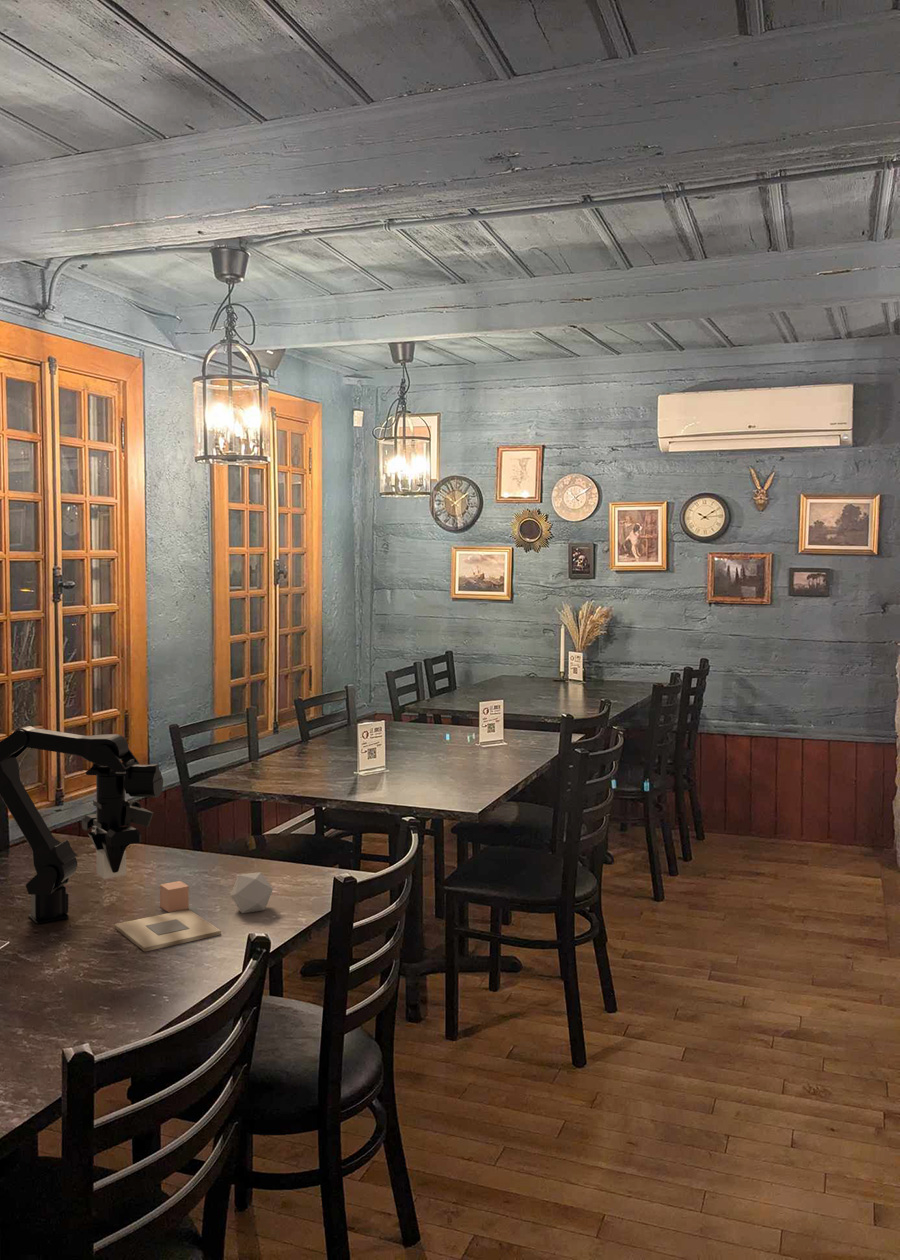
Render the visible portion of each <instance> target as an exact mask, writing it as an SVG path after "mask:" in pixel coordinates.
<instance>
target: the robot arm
mask: <svg viewBox="0 0 900 1260" xmlns="http://www.w3.org/2000/svg"><path fill="white" fill-rule="evenodd" d="M28 748H30V749H35V750H42V751H48V752H54V753H60V754H66V755H67V754H69V755H74V756H78V757H80V758H82V759H84V760H86V761H87V762H90V763H92V766H91V767H90V768H89V769H88V770H86V772H85V775H87V776H95V777H96V778H95V779H96V780H95V788H96V791H95V795H96V796H95V797H96V799H93V800H92V805H93V806H94V807H95V808H96V810H95V811H96V813H91V814H86V815H85V816H84V817H83V818H82V820H81V829H82V830H84V831H86V832H87V831H88V833H87V835H88V836H89V839H90V840H91V842H92V845H93V847H94V848H95V851H96V850H100V849H104V851H105V853H106V856H107V859H108V862H109V864H110V867H111V870H112V872H113V873H115V872H118V871H119V867H120V864H121V861H122V857H123V854H124V851H126V849H127V848H128V847H129V846H130V845H134V844H140V843H142V832H141V831H139V829H137V828H135V827H134V826H131V824H137V825H141V826H143V827H146V828H149V827H150V824H151V820H152V818H153V815H154V812H153V811H151V810H149V809H146V808H144V807H142V806H141V803H140V802H138V801H135V800H132V799H131V800H130V801H129V800H127V799H126V794H127V795H129V797H133V798H135V797H137V798H159V797H160V796H161V794H162V791H163V787H164V777H162V776H163V774H162V772H161V770H160V765H159V764H157V763H151V764H140V762H139V760H138V759H137V758H136V756H135V755H134V754H133V752H132V751H131V750H130V749H129V743H128V741H127V740H126V739H125V737H124V736H123V735H120V734H116V733H112V734H111V733H110V734H95V735H82V734H78V733H77V734H76V733H69V732H65V731H63V732H62V731H56V730H49V729H44V728H37V727H34V726H32V725H26V726H23V727H20V728H17V729H15V730H14V731H13V732H12V733H11V734H10V735H8V736H7V737H5V738H4V739H2V740H0V797H1V800H2V801H3V802H4V805H5V807H6V808H7V809H8V811H9V813H10V814H11V816H12V818H13V819H14V821H15V823H16V824H17V825H16V826H18V828H19V830H20V832H21V833H22V835H23V837H24V838H25V840H26V842H27V845H29V847H30V849H31V852H32V853H31V854H32V864H33V867H34V870H35V873H36V874H35V875H34V876H33V877H32V878H30V880H29V881H28V882H27V883H26V884H25V888H26V890H27V893H28V895H31V896H30V898H31V899H30V900H31V903H30V904H31V905H30V906H31V907H30V909H31V912H30V913H28V917H29V918H30V919H32V920H33V921H34V922H35V923H36V924H38V925H40V924H44V923H50V922H54V921H59V920H65V919H69V917H70V915H69V914H68V913H69V911H70V910H69V908H70V907H69V893H68V892H67V887H66V886H64V885H66V884H68V883H69V881H70V878H71V877H72V876H73V875H74V874H75V872H76V871H77V868H78V867H77V866H78V860H77V858H76V857H77V856H78V854H77V852H75V851H74V850H73V849H72V845H71V842H69V840H68V839H66V840H64V841H62V842H61V841H60V840H58V839H57V838H55V837H54V835H53V834H52V831H50V829H49V827H48V825H47V824H46V822H45V820H44V819H43V817H42V815H41V813H40V812H39V810H38V809H37V807H36V805H35V803H34V800H33V799H32V798H31V796H30V794H29V793H28V791H27V789H26V788H25V787H24V784H23V782H22V781H21V778H20V776H21V775H20V765H19V763H18V761H17V758H18V757H20V756H21V754H23V753H24V752H25V751H26V750H27V749H28ZM90 829H91V832H89V831H90Z"/></svg>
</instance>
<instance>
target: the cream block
mask: <svg viewBox="0 0 900 1260" xmlns="http://www.w3.org/2000/svg"><path fill="white" fill-rule="evenodd" d="M95 851H96V852H95V853H96V860H95V861H96V862H95V863H96V875H98V876H99V877H101V878H102V879H103V880H106V879H111V878H112V879H113V878H116V877H117V878H118V877H123V876H127V851H126V850H125V851H124V854H123V857H122V861H121V864H120V867H119V871H118V872H115V873H113V872H112V870H111V867H110V864H109V862H108V859H107V856H106V853H105V851H104V849H100V850H96V849H95Z"/></svg>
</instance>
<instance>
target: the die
mask: <svg viewBox="0 0 900 1260" xmlns="http://www.w3.org/2000/svg"><path fill="white" fill-rule="evenodd" d="M273 890H274V888H273V886H271V884H270V882H268V880H267V878H266V876H265V875H264V874H263V872H262V871H261V872H260V871H259V872H251V873H243V874H238V875H237V877H236V881H235V883H234V885H233V888H232V891H231V892H230V895H229V896H230V897H231V899H232V901H233V902H234V904H235V906H236V907H237V908H238V910H239V911H240V913H241V914H249V913H254V912H255V911H256V912H261V911H266V909H267V905H268V903H269V900H270V899H271V895H272V893H273Z"/></svg>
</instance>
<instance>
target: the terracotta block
mask: <svg viewBox="0 0 900 1260" xmlns="http://www.w3.org/2000/svg"><path fill="white" fill-rule="evenodd" d="M189 888H190V886H189V885H188V884H186V883H185V882H183V881H181V880H178V881H172V882H167V883H161V884H159V906H160V908H161V909H162V910H165V911H166V912H167V913H171V912H176V911H181V910H186V909H189V908H190V906H189V904H190V903H189V901H190V897H189V890H190V889H189Z"/></svg>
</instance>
